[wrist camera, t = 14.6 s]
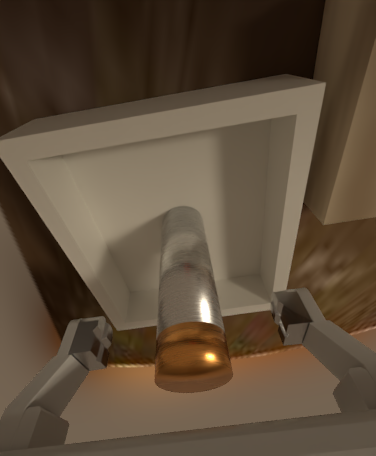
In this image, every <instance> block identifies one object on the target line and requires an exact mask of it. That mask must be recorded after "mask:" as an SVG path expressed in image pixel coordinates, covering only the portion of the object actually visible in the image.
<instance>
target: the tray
mask: <svg viewBox="0 0 376 456" xmlns="http://www.w3.org/2000/svg"><path fill="white" fill-rule="evenodd" d="M325 86H326V82H322V81H317V80H312V79H308V78H303V77H299V76H294V75H289V74H282V75H277V76H271V77H266V78H260V79H254V80H249V81H243V82H238V83H232V84H227V85H221V86H216V87H210V88H205V89H199V90H194V91H188V92H182V93H177V94H171V95H166V96H160V97H155V98H149V99H144V100H138V101H133V102H127V103H122V104H116V105H110V106H105V107H99V108H94V109H88V110H83V111H77V112H72V113H66V114H61V115H55V116H50V117H44V118H38V119H34V120H32V121H30V122H28V123H26V124H24V125H22V126H20V127H18V128H16V129H15V130H13V131H11V132H9V133H7V134H5V135H3V136H1V137H0V158H1V159H2V161H3V162H4V164H5V165H6V167H7V168H8V169H9V171H10V172H11V174H12V175H13V177H14V178H15V180H16V181H17V183H18V184H19V186H20V187H21V189H22V190H23V192H24V193H25V195H26V196H27V198H28V199H29V201H30V202H31V204H32V205H33V206H34V208H35V209H36V211H37V212H38V214H39V215H40V217H41V218H42V220H43V221H44V223H45V224H46V226H47V227H48V229H49V230H50V232H51V233H52V235H53V236H54V238H55V239H56V240H57V242H58V243H59V245H60V246H61V248H62V249H63V251H64V252H65V254H66V255H67V257H68V258H69V260H70V261H71V263H72V264H73V266H74V267H75V269H76V270H77V272H78V273H79V275H80V276H81V277H82V279H83V280H84V282H85V283H86V285H87V286H88V288H89V289H90V291H91V292H92V294H93V295H94V297H95V298H96V300H97V301H98V303H99V304H100V306H101V307H102V309H103V310H104V311H105V313H106V314H107V316H108V317H109V319H110V320H111V322H112V323H113V325H114V326H115V328H116V329H117V331H119V330H126V329H134V328H141V327H148V326H156V325H157V318H158V296H159V274H160V253H161V231H162V219H163V216H164V215H165V213H166V212H167V211H169V210H170V209H172V208H174V207H177V206H189V207H192V208H194V209H196V210H197V211H199V212H200V214H201V215H202V218H203V222H204V227H205V233H206V238H207V243H208V248H209V253H210V258H211V264H212V269H213V274H214V279H215V284H216V289H217V295H218V300H219V305H220V310H221V315H222V316H229V315H236V314H243V313H251V312H258V311H265V310H271V307H270V305H271V302H272V301H273V299H272V293H273V292H278V291H284V290H286V288H287V283H288V277H289V272H290V267H291V262H292V257H293V252H294V247H295V241H296V236H297V231H298V226H299V221H300V216H301V210H302V205H303V200H304V195H305V190H306V185H307V179H308V174H309V169H310V164H311V159H312V154H313V148H314V143H315V138H316V133H317V128H318V123H319V117H320V112H321V107H322V102H323V97H324V92H325Z"/></svg>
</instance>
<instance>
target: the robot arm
mask: <svg viewBox="0 0 376 456" xmlns="http://www.w3.org/2000/svg"><path fill="white" fill-rule="evenodd" d="M272 299H273V301H272V302H271V305H270V307H271V313H272V317H273V319H274V322H275V323H276V324H278V325H279V328H278V333H279V335H280V338H281V340H282V343H283V345H292V344H302V343H303V344H302V345H303V346H304V347H305V348H307V349H308V350H309V351H310V352H311V353H312V354H313V355H314V356H315V357H316V358H317V359H318V360H319V361H320V362H321V363H322V364H323V365H324V366H325V367H326V368H327V369H328V370H329V371H330V372H331V373H332V374H334V375H335V376H336V377H337V378H338V379H339V380H340V383H339V384H338V385H337V387H336V388H335V389H334V392H333V395H334V397H335V399H336V402H337V404H338V406H339V408H340V410H341V412H342V413H336V414H327V415H318V416H309V417H300V418H292V419H284V420H275V421H266V422H257V423H248V424H239V425H230V426H222V427H214V428H205V429H196V430H187V431H179V432H170V433H161V434H152V435H144V436H134V437H126V438H117V439H108V440H99V441H91V442H82V443H73V444H64V442H65V439H66V435H67V431H68V427H69V423H68V421H66V420H64V419H62V418H60V415H61V414H62V412H63V411H64V409H65V407H66V406H67V404H68V403H69V402H70V400H71V399H72V397H73V396H74V394H75V393H76V391H77V390H78V388H79V387H80V385H81V383H82V382H83V381H84V379H85V378H86V376H87V375H88V373H89V371H91V370H98V369H104V368H106V367H107V363H108V358H109V351H108V347H109V346H110V345H111V343H112V328H111V326H110V324H107V323H105V322H106V319H105V318H104V316H100V317H93V318H85V319H77V320H71V321H70V323H69V324H68V326H67V329H66V332H65V334H64V337H63V340H62V342H61V345H60V348H59V350H58V353H57V356H55V357H53V358H52V359H51V360H50V361H49V362H48V363H47V364H46V365H45V366H44V367H43V369H42V370H41V371H40V372H39V373H38V374H37V375H36V376H35V377H34V378H33V380H32V381H31V382H30V383H29V384H28V385H27V386H26V387H25V388H24V389H23V390H22V391H21V392H20V394H19V395H18V396H17V397H16V398H15V399H14V400H13V401H12V402H11V403H10V404H9V406H8V407H7V408H6V409H5V411H4V413H3V415H2V417H1V420H0V456H376V353H375V352H374V351H372V350H371V349H369V348H368V347H366V346H365V345H363V344H362V343H361V342H359V341H358V340H357V339H355V338H354V337H352V336H351V335H349V334H348V333H347V332H345V331H344V330H342V329H341V328H340V327H338V326H337V325H335V324H334V323H332V322H331V321H330V320H328V321H326V320H325V318H324V316H323V315H322V313H321V311H320V309H319V308H318V306H317V304H316V303H315V301H314V299H313V297H312V296H311V294H310V292H309V290H308V289H307V288H299V289H291V290H284V291H278V292H273V293H272Z"/></svg>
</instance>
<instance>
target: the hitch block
mask: <svg viewBox="0 0 376 456" xmlns="http://www.w3.org/2000/svg"><path fill="white" fill-rule="evenodd" d="M313 80H317V81H322V82H326V86H325V92H324V97H323V102H322V107H321V112H320V117H319V123H318V128H317V133H316V138H315V143H314V148H313V154H312V159H311V164H310V169H309V174H308V179H307V185H306V190H305V195H304V200H303V202H304V203H305V204H306V205H307V207H308V208H309V209H310V210H311V211H312V212H313V214H314V215H315V216H316V217H317V218H318V219H319V220H320V222H321V223H322V224H323V225H326V224H333V223H339V222H346V221H352V220H359V219H366V218H372V217H376V0H326V1H325V7H324V13H323V19H322V26H321V32H320V38H319V44H318V50H317V57H316V63H315V69H314V75H313Z"/></svg>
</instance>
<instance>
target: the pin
mask: <svg viewBox="0 0 376 456" xmlns="http://www.w3.org/2000/svg"><path fill="white" fill-rule="evenodd" d="M232 377H233V372H232V367H231V362H230V356H229V351H228V346H227V341H226V336H225V331H224V325H223V320H222V315H221V310H220V305H219V300H218V295H217V289H216V284H215V279H214V274H213V269H212V264H211V258H210V253H209V248H208V243H207V238H206V233H205V227H204V222H203V218H202V215H201V214H200V212H199V211H197V210H196V209H194V208H192V207H189V206H177V207H174V208H172V209H170V210H169V211H167V212H166V213H165V215H164V216H163V219H162V231H161V253H160V274H159V296H158V318H157V340H156V362H155V383H156V385H157V386H158V387H160V388H162V389H164V390H167V391H171V392H179V393H194V392H202V391H207V390H211V389H215V388H218V387H220V386H222V385H224V384H226V383H227V382H229V381H230V380H231V378H232Z"/></svg>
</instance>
